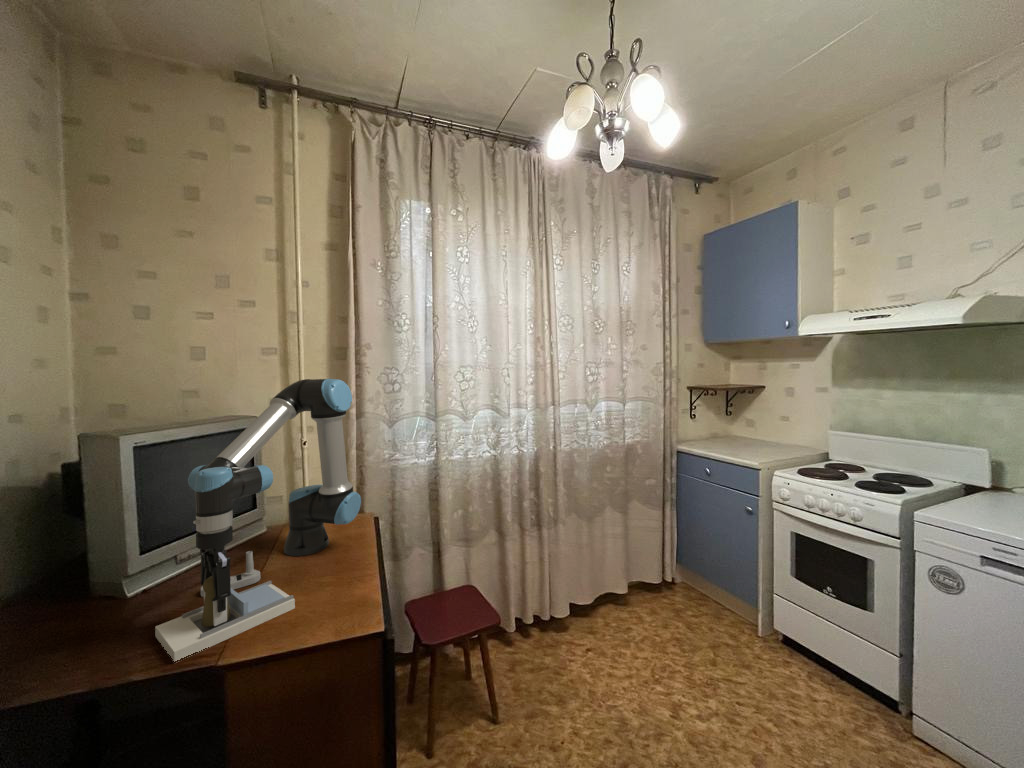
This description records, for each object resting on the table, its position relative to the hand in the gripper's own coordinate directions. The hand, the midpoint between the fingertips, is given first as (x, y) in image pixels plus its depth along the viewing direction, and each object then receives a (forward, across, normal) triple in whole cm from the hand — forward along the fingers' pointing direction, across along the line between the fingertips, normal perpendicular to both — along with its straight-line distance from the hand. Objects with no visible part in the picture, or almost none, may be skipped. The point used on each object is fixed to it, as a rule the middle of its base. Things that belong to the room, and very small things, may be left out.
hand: (215, 618), depth 100 cm
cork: (0, 0, 0) cm, 0 cm away
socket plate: (+2, 0, +3) cm, 4 cm away
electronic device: (+3, -20, +10) cm, 23 cm away
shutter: (0, 0, +9) cm, 9 cm away
